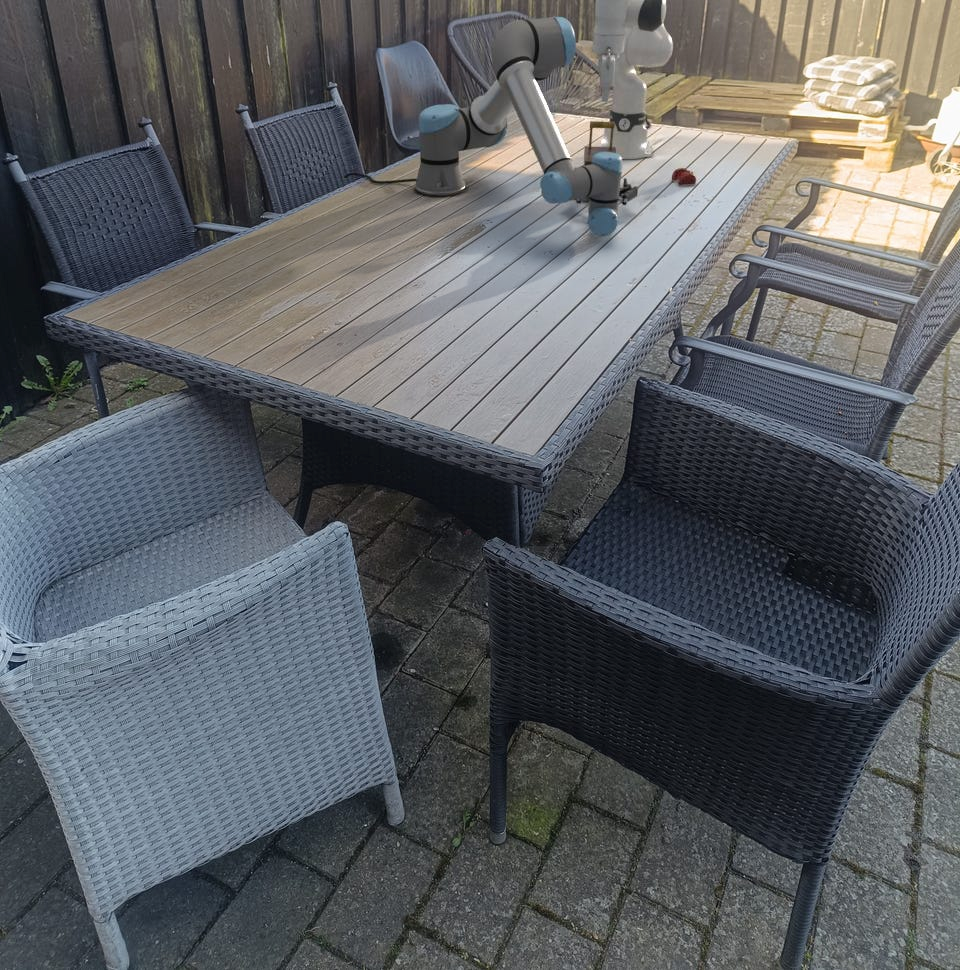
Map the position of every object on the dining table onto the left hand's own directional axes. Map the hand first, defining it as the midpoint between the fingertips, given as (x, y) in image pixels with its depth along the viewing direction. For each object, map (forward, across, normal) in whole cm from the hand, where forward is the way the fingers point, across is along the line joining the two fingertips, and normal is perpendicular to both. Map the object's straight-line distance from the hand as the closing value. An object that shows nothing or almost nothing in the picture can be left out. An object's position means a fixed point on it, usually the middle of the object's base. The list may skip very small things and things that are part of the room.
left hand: (601, 182), depth 244 cm
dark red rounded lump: (+24, +26, -6) cm, 36 cm away
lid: (+10, 0, +4) cm, 11 cm away
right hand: (+16, 0, +20) cm, 25 cm away
